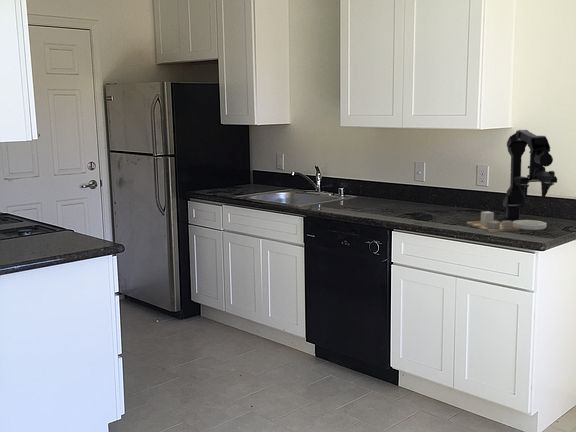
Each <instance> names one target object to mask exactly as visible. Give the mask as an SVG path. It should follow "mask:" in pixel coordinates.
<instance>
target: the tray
mask: <svg viewBox="0 0 576 432" xmlns="http://www.w3.org/2000/svg"><path fill="white" fill-rule="evenodd" d="M494 222H500V229H488V228H487V226H483V225H480V224H481V220H476V221H466V225H468V226H471V227H475V228H476V229H480V230H481V231H482V230H483V231H486V232H489V233H495V232H496V233H498V232H500V233H501V232H515V231H516V232H518V231H521V229H520V228H518V227H515V226H513V228H506V229H502V221H498V220H494Z"/></svg>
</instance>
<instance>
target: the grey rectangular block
mask: <svg viewBox="0 0 576 432" xmlns="http://www.w3.org/2000/svg"><path fill="white" fill-rule="evenodd" d="M494 217H495V213H494V212H492V211H480V221H481V224H480V225H483V226H487V222H491V221H494Z"/></svg>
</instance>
